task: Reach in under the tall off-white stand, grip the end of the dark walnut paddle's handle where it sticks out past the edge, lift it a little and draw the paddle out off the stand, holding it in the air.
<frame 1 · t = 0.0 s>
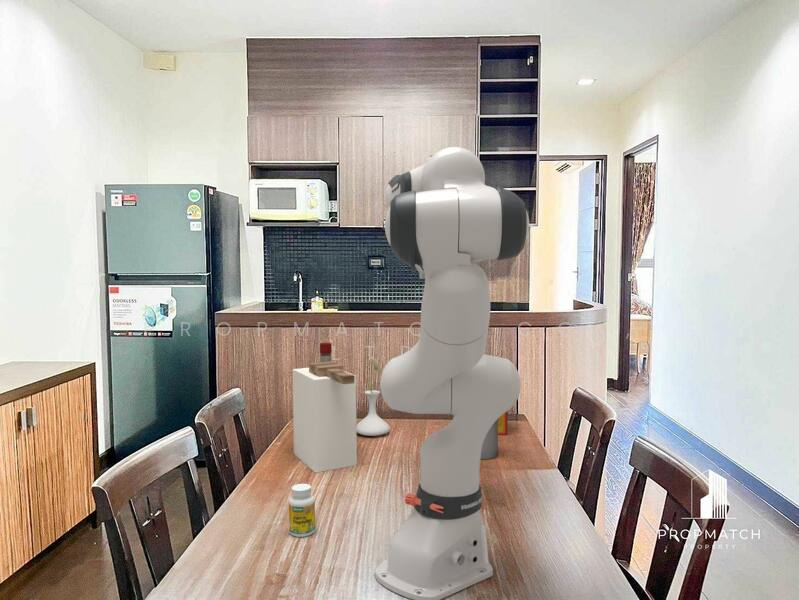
hand: (441, 278, 147), 52 cm above the table, tool tilted 20°, fingers open, 8 cm apart
stand: (324, 459, 170), on the table
flower in vase: (372, 433, 196), on the table
supplement bottle: (302, 532, 125), on the table
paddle: (334, 377, 162), point 25 cm above the table, touching stand
baking soda box: (494, 431, 198), on the table
pillar candle: (480, 455, 174), on the table
liquor: (326, 436, 193), on the table
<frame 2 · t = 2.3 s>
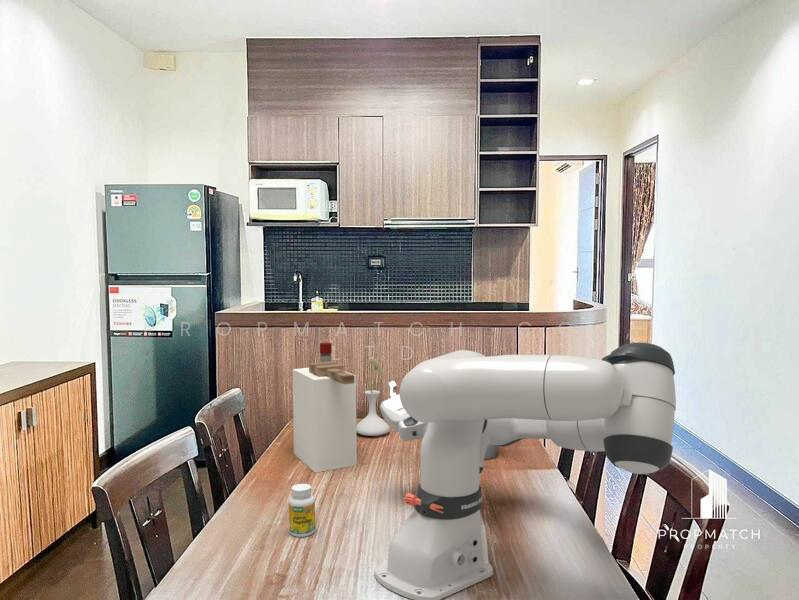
hand: (407, 375, 148), 28 cm above the table, tool pointing upward, fingers open, 8 cm apart
nothing on the table moved.
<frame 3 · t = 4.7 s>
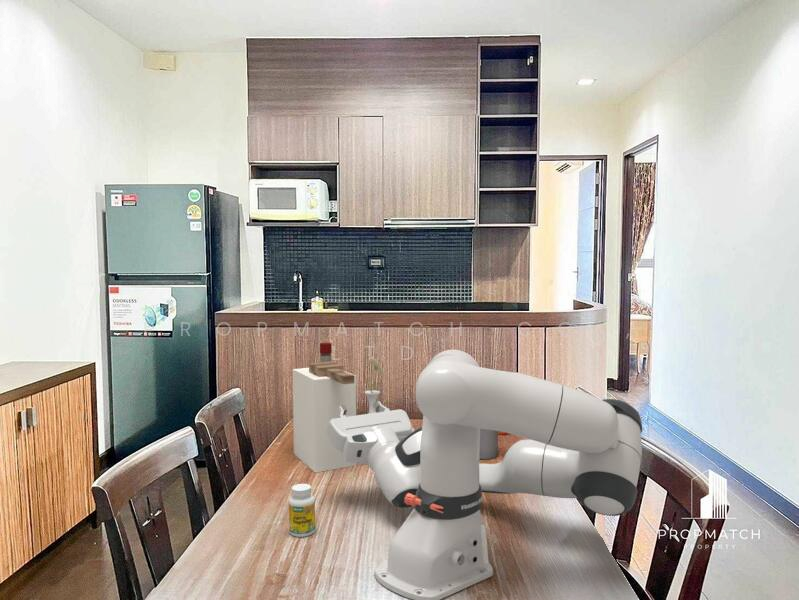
hand: (358, 405, 148), 21 cm above the table, tool pointing upward, fingers open, 8 cm apart
nothing on the table moved.
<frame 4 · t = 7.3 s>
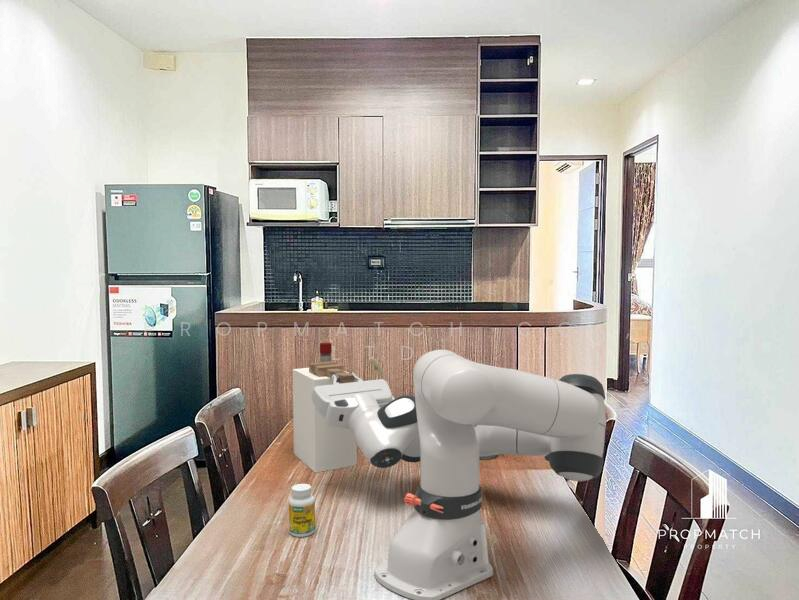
hand: (342, 375, 157), 26 cm above the table, tool pointing upward, fingers closed on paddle, 3 cm apart
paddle: (334, 377, 162), point 25 cm above the table, touching gripper, stand
everything else where it was.
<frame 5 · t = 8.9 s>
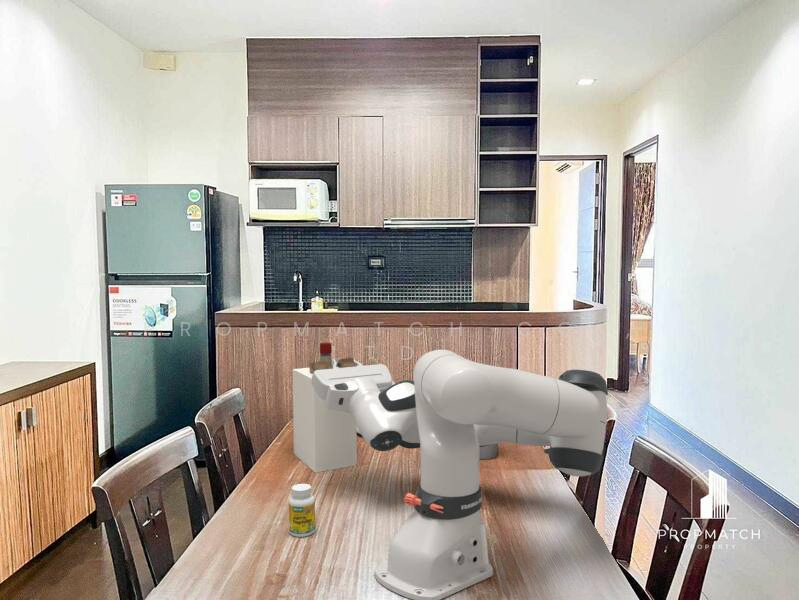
hand: (342, 360, 156), 30 cm above the table, tool pointing upward, fingers closed on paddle, 3 cm apart
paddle: (334, 368, 161), point 27 cm above the table, tilted 13°, touching gripper, stand
everything else where it was.
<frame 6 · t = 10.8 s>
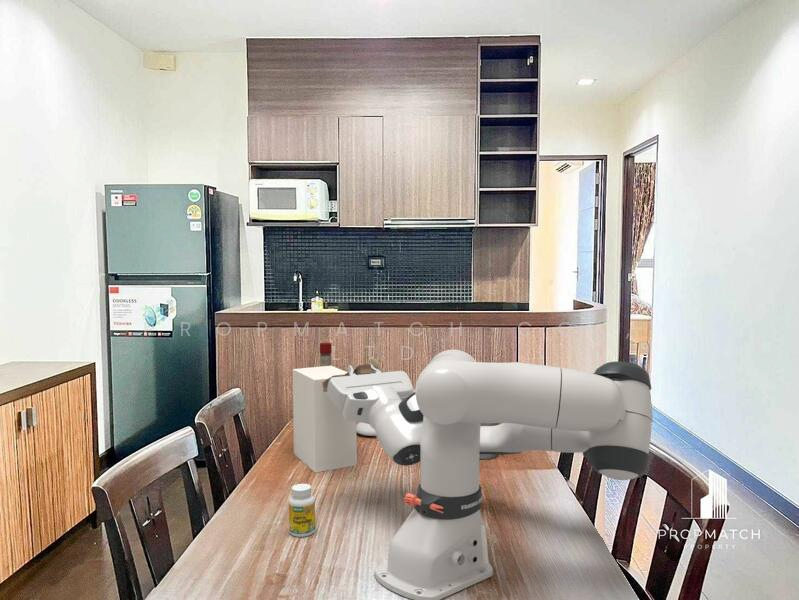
hand: (359, 366, 146), 31 cm above the table, tool pointing upward, fingers closed on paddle, 3 cm apart
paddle: (350, 382, 151), point 26 cm above the table, tilted 23°, touching gripper
everything else where it was.
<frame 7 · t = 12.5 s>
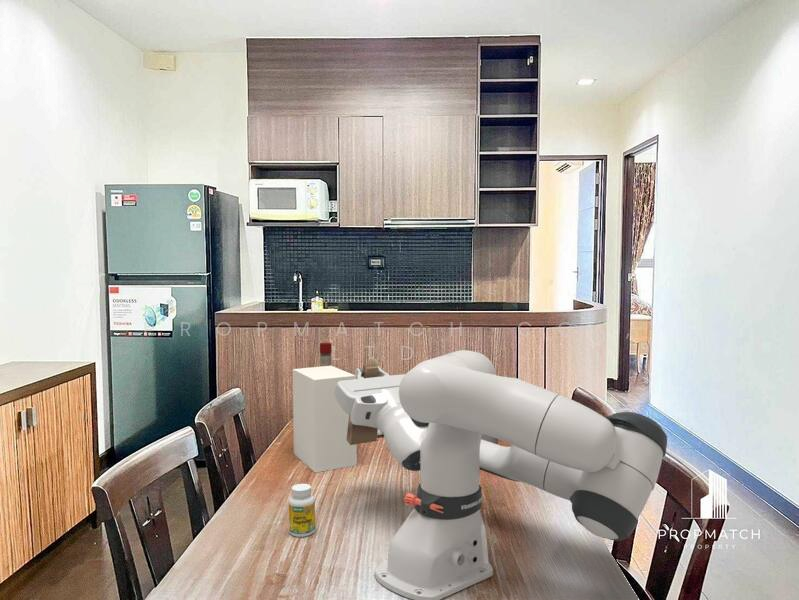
hand: (366, 369, 143), 30 cm above the table, tool pointing upward, fingers closed on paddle, 3 cm apart
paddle: (368, 406, 143), point 22 cm above the table, tilted 75°, touching gripper
everything else where it was.
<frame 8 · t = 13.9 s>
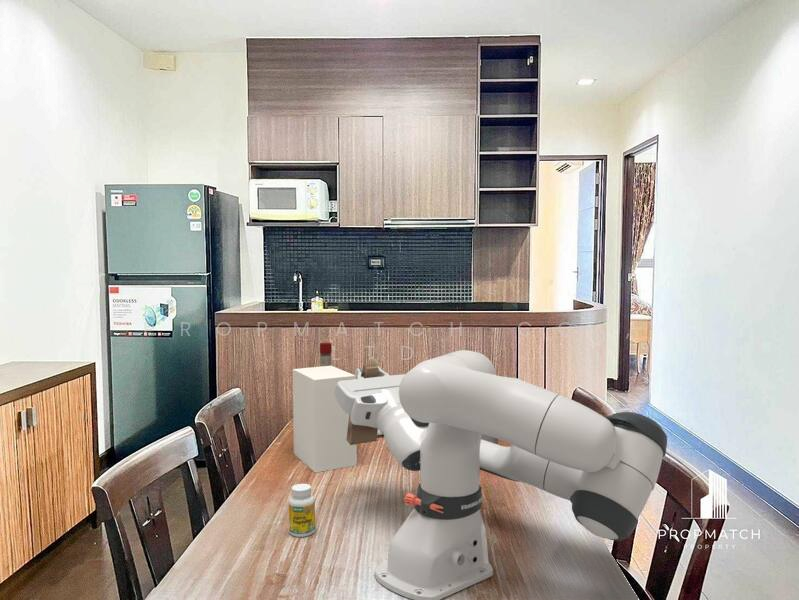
hand: (366, 369, 143), 30 cm above the table, tool pointing upward, fingers closed on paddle, 3 cm apart
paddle: (368, 406, 143), point 22 cm above the table, tilted 75°, touching gripper
everything else where it was.
at the end: the gripper is holding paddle; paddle moved 21.6 cm from its start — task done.
